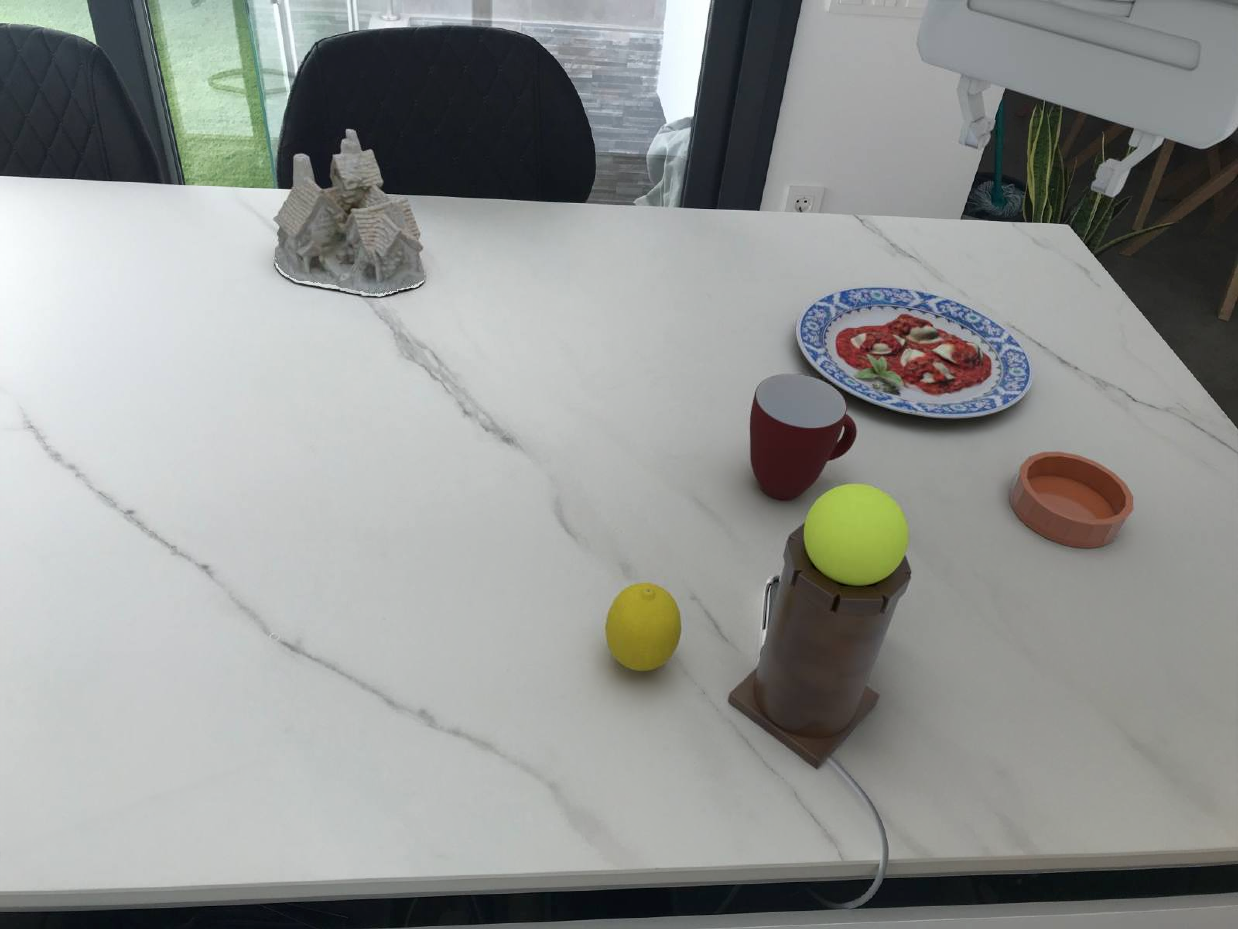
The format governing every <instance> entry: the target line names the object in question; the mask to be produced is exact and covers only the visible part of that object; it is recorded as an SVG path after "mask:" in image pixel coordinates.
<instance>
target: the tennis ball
mask: <svg viewBox="0 0 1238 929" xmlns="http://www.w3.org/2000/svg"><path fill="white" fill-rule="evenodd" d="M804 522H805V526H804V542H805V547H806V550H807V553H808V555H809V557H810V559H811V561H812V562H813V564H814V565H815V567H816V568H817V569H818V570H819V571H820V572H822V573H823V574H824V575H825V576H827V577H828V578H830V579H831V580H833V581H836V582H838V583H841V584H845V585H850V586H864V585H869V584H873V583H876V582H878V581H881V580H882V579H884V578H886V577H887V576H889V575H890V574H891V573H892V572H893V571H894V570H895V569H896V568H897V567H898V566H899V564H900V563H901V561H902V560H903V558H904V556H905V555H906V554H907V549H908V547H909V538H910V536H909V535H910V532H909V525H908V522H907V519H906V516H905V514H904V512H903V510H902V507H901V506H900V505H899V504H898V503H897V501H896V500H895V499H894V498H893V497H891V496H890V495H889V494H888V493H886V492H885V491H884V490H881V489H880V488H877V487H876V486H872V485H869V484H864V483H847V484H842V485H838V486H836V487H835V486H834V487H833V488H832V489H829V490H827V491H826V492H825V493H823V494H822V495H820V497H818V498H817V499H816V501H814V503H813V504H812V506H811V507H810V509H809V511H808V513H807V515H806V518H805V521H804Z"/></svg>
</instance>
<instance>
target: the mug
mask: <svg viewBox="0 0 1238 929" xmlns="http://www.w3.org/2000/svg"><path fill="white" fill-rule="evenodd" d="M847 411H848V405H847V401H846V399H845V398H844V396H843V395H842V393H841V392H840V391H839V390H838V389H837V388H836V387H834V386H833V385H831V384H830V383H828V382H827V381H824V380H822V379H819V378H817V377H814V376H810V375H805V374H801V373H799V374H798V373H781V374H776V375H772V376H770V377H767V378H766V379H763V380H762V381H761V382H760V383H759V384H758V385H757V386H756V389H755V392H754V395H753V399H752V404H751V408H750V416H749V448H750V449H749V456H750V459H749V460H750V466H751V469H752V472H753V474H754V477H755V480H756V482H757V483H758V486H759V488H760V489H761V491H762V492H763V493H764V494H765V495H767V496H769V497H771V498H773V499H776V500H779V501H780V500H781V501H788V500H794V499H797V498H798V497H799V496H801V495H802V494H803V493H804V492H806V491H807V490H808V489H810V488H811V486H812V485H814V484H815V483H816V481H817V480H818V479H819V478H820V476H821V474H822V472H823V471H824V469H825V467H826V465H827V463H828V462H830V461H834V460H836V459H839V458H841V457H842V456H844V455H845V454H846V453H847V452H848V451H849V450H851V448H852V446H853V445H854V443H855V441H856V438H857V434H858V428H857V425H856V423H855V421H854V419H853V418H852V417H851V416H850V415H849V414H847ZM842 431H843V432H842ZM841 434H842V435H841Z"/></svg>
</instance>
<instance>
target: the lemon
mask: <svg viewBox="0 0 1238 929" xmlns="http://www.w3.org/2000/svg"><path fill="white" fill-rule="evenodd" d="M681 618H682V617H681V612H680V608H679V606H678V604H677V602H676V599H675V598H674V597H673V595H672V594H671V593H670V592H669V591H668V590H666V589H665V588H663V587H662V586H660V585H658V584H655V583H650V582H638V583H633V584H631V585H629V586H627V587H625V588H624V589H622V590H621V591H620V592H619V593H618V594H617V595H616V596H615V598H614V600H613V601H612V603H611V605H610V607H609V609H608V612H607V616H606V620H605V621H606V622H605V630H604V631H605V640H606V644H607V646H608V649H609V650H610V652H611V654H612V656H613V657H614V658H615V659H616V660H617V662H618V663H620V664H621V665H622V666H624V667H625V668H628V669H630V670H633V671H638V672H647V671H651V670H655V669H657V668H659V667H661V666H663V665H664V664H665V663H667V662H668V661H669V660H670V659H671V657H672V656H673V654H674V653H675V651H676V650H677V648H678V646H679V642H680V638H681V634H682V619H681Z"/></svg>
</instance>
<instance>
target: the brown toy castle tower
mask: <svg viewBox="0 0 1238 929" xmlns="http://www.w3.org/2000/svg"><path fill="white" fill-rule="evenodd" d="M804 526H805V521H804V522H803V523H802V524H800V526H798V527H797V528H795V530H794V531H792V532H791V533H789V535H788V536H787V540H786V543H785V545H784V546H785V547H784V550H783V554H782V557H783V562H784V564H783V567H782V571H781V576H780V579H779V583H778V588H777V592H776V595H775V598H774V603H773V606H772V610H771V615H770V618H769V622H768V626H767V629H766V634H765V638H764V641H763V644H762V649H761V654H760V657H759V661H758V665H757V667H755V669H753V671H752V672H751V673H749V674H748V675H747V676H746V677H745V678H744V679H743V680H742V681H741V682H740V683H739V684H738V685H737V686H736V687H735V688H734V689H732V691H730V692H729V695H728V698H727V702H728V703H729V704H730V705H732V706H733V707H735V708H736V709H737V710H738V711H739V712H741V713H742V714H743V715H745V716H746V717H747V718H749V719H750V720H752V721H753V722H754V723H756V724H757V725H758V726H760V727H761V728H762V729H763V730H765V731H766V732H767V733H768V734H770V735H772V736H773V737H774V738H775V739H777V740H778V741H779V742H781V743H782V744H783V745H785V746H786V747H787V748H789V749H790V750H791V751H793V752H794V753H795V754H796V755H798V756H799V757H801V759H803V760H805V761H806V762H807V763H809V765H811V766H812V767H813V768H815V769H817V770H818V769H819V768H820V767H821V766H822V765H823V764H824V763H825V761H826V760H827V759H828V758H829V757H830V756H831V755H832V754H833V753H834V751H835V750H836V749H837V748H838V747H839V746H840V745H841V744H842V742H844V740H846V738H847V737H848V736H849V735H850V734H851V732H853V730H854V729H856V727H858V725H859V724H860V723H861V722H862V720H863V719H864V718H865V717H866V716H867V715H868V714H869V712H870V711H871V710H873V709H874V707H875V706H876V705H877V704H878V701H879V699H880V696H881V695H880V694H879V693H878V692H876V691H875V690H873V689H872V688H870V687H869V686H868V683H869V680H870V678H871V675H872V672H873V669H874V667H875V664H876V662H877V659H878V656H879V653H880V651H881V648H882V646H883V642H884V640H885V637H886V635H887V633H888V629H889V627H890V625H891V622H892V619H893V616H894V614H895V610H897V609H896V608H897V606H898V603H899V601H900V599H901V597H903V596H904V595H905V594H906V592H907V589H908V586H909V584H910V581H911V579H912V576H911V575H912V572H913V571H912V569H911V566H910V563H909V560H908V558H907V555H906V554H905V556H904V558H903V560H902V561H901V563H900V564H899V566H898V567H897V568H896V569H895V570H894V571H893V572H892V573H891V574H890V575H889V576H887V577H886V578H884V579H882V580H881V581H878V582H876V583H873V584H869V585H864V586H850V585H845V584H841V583H838V582H836V581H833V580H831V579H830V578H828V577H827V576H825V575H824V574H823V573H822V572H820V571H819V570H818V569H817V568H816V567H815V565H814V564H813V562H812V561H811V559H810V557H809V555H808V553H807V550H806V547H805V542H804ZM828 756H829V757H828ZM827 757H828V758H827Z"/></svg>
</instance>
